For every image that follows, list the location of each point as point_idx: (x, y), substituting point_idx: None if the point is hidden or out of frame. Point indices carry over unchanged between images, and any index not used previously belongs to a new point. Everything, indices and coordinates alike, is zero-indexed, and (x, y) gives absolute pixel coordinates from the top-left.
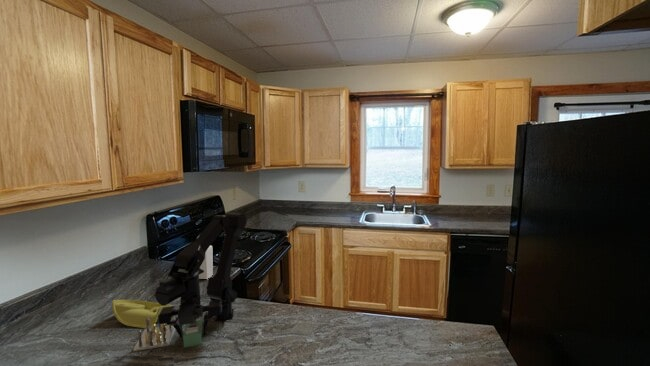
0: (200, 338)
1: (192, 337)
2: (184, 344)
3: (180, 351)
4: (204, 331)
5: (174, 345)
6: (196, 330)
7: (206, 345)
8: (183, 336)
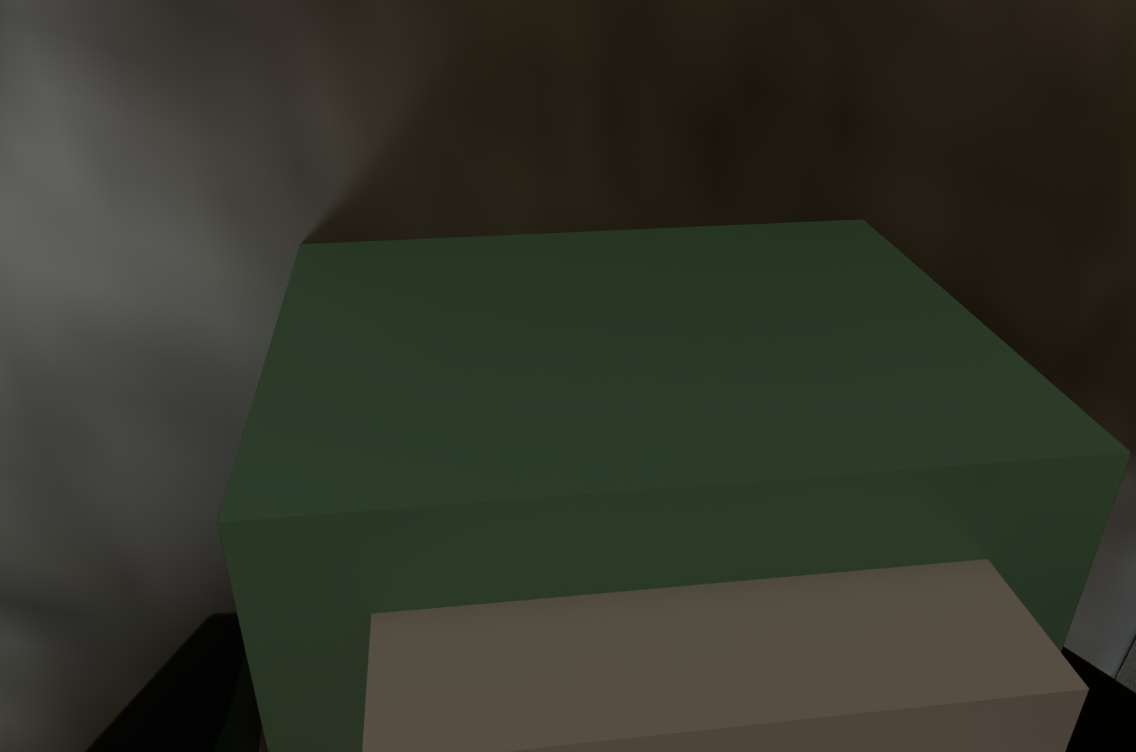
0: (281, 344)
1: (637, 383)
2: (884, 262)
3: (985, 20)
4: (174, 696)
5: (1099, 407)
6: (456, 684)
7: (42, 62)
8: (1101, 441)
